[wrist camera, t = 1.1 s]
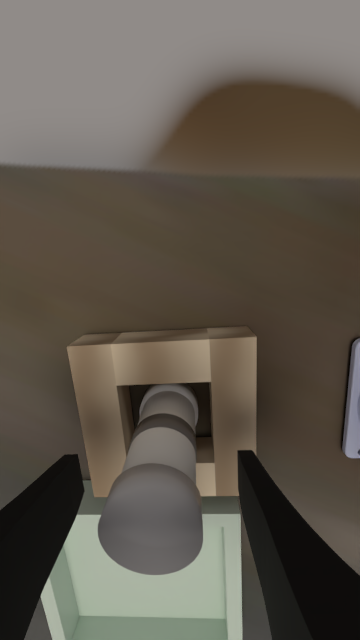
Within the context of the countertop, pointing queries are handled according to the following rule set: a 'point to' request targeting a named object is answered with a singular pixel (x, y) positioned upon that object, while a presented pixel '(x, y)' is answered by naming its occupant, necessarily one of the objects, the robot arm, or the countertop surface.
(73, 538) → the parts tray
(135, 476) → the cylinder
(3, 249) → the countertop surface
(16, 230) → the countertop surface
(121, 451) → the wooden square frame
